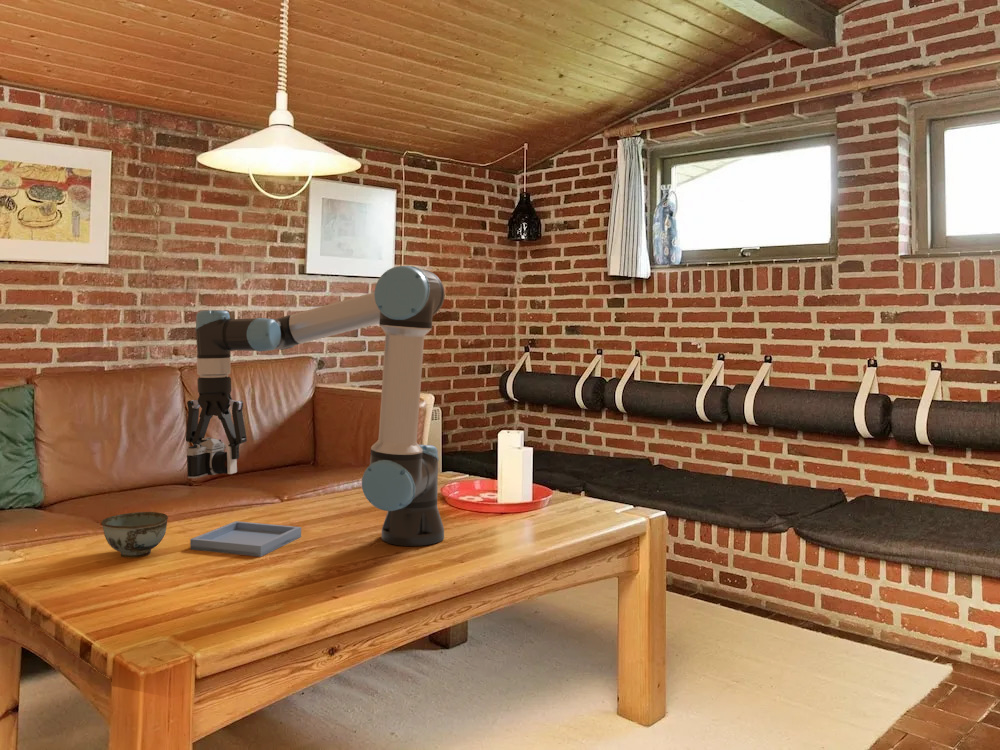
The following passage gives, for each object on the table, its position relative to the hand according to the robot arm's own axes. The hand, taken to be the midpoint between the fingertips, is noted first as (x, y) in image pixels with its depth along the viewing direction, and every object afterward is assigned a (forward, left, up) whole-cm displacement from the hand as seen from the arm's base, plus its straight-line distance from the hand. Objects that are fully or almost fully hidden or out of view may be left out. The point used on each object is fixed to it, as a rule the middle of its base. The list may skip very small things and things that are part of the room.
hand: (217, 472), depth 196 cm
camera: (0, +1, 0) cm, 1 cm away
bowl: (+10, +16, -16) cm, 25 cm away
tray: (-9, +1, -16) cm, 18 cm away
